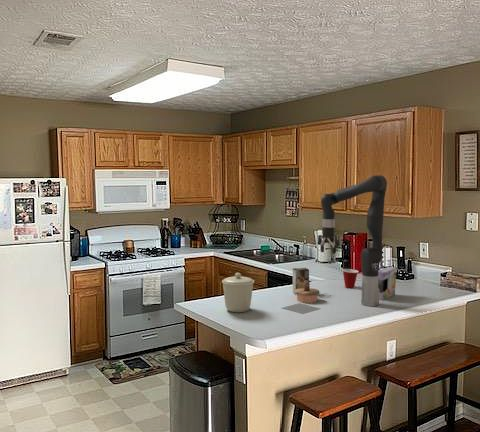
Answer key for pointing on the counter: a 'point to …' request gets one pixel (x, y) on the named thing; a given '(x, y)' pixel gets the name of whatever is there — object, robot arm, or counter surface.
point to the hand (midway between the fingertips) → (328, 252)
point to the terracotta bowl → (307, 298)
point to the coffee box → (299, 277)
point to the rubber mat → (301, 308)
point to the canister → (237, 293)
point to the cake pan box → (386, 282)
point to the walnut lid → (306, 289)
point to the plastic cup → (350, 277)
